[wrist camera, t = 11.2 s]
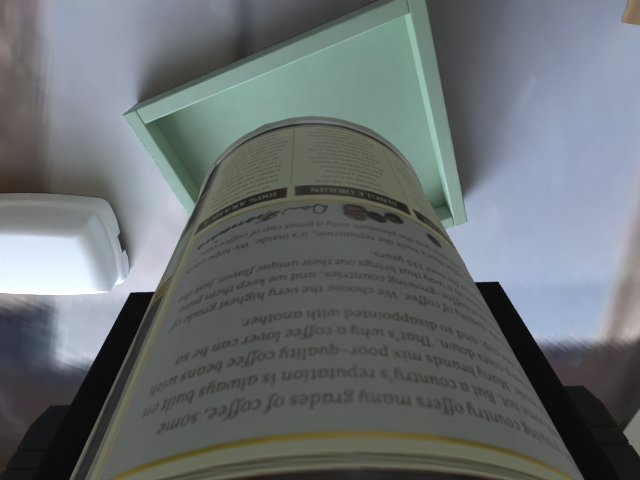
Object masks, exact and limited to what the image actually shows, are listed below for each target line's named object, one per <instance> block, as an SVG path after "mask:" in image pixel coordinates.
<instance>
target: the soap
mask: <svg viewBox="0 0 640 480" xmlns="http://www.w3.org/2000/svg"><path fill="white" fill-rule="evenodd" d="M119 233H120V230H119V227H118V221H117V219H116V217H115V214H114V212H113V210H112V208H111V206H110V204H109V203H108V202H107V201H106V200H104V199H102V198H95V197H86V196H76V195H64V194H46V193H3V194H0V292H3V293H19V294H54V295H59V294H91V293H105V292H108V291H110V290H111V289H112V288H113V287H114V285H115V284H120V283H122V282H124V281H125V279H126V277H127V275H128V274H129V262H128V255H126V250H123V252H122V250H121V246H120V243H119V240H118V235H119Z"/></svg>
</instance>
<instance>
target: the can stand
mask: <svg viewBox="0 0 640 480" xmlns="http://www.w3.org/2000/svg"><path fill="white" fill-rule="evenodd" d="M622 23H628V24H633V25H639V26H640V0H629V3H628V5H627V8H626V11H625V13H624V16H623V19H622Z"/></svg>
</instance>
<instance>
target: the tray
mask: <svg viewBox="0 0 640 480" xmlns="http://www.w3.org/2000/svg"><path fill="white" fill-rule="evenodd" d="M305 116H321V117H332V118H338V119H342V120H346V121H349V122H352V123H356V124H359V125H362V126H365V127H367V128H369V129H371V130H373V131H374V132H376V133H378V134H379V135H381V136H382V137H384V138H385V139H386V140H388V141H389V142H390V143H392V144H393V145H394V146H395V147H396V148H397V149H398V150H399V151H400V152H401V153H402V154H403V155H404V156H405V158H406V159H407V160H408V162H409V163H410V164H411V166H412V167H413V169H414V171H415V173H416V174H417V176H418V178H419V181H420V183H421V186H422V189H423V191H424V193H425V195H426V197H427V198H428V200H429V202H430V204H431V206H432V207H433V209H434V211H435V213H436V214H437V216H438V218H439V220H440V222H441V223H442V225H443V227H444V229H447V228H450V227H453V226H454V225H455V226H457V225H460V224H463V223H466V222H467V217H466V211H465V206H464V201H463V195H462V190H461V185H460V179H459V174H458V169H457V163H456V158H455V153H454V147H453V142H452V137H451V131H450V126H449V121H448V115H447V110H446V105H445V99H444V94H443V89H442V83H441V78H440V73H439V67H438V62H437V57H436V51H435V46H434V41H433V35H432V30H431V25H430V19H429V14H428V9H427V3H426V0H378V1H376V2H374V3H371V4H369V5H367V6H364V7H362V8H360V9H357V10H355V11H353V12H350V13H348V14H346V15H343V16H341V17H339V18H336V19H334V20H332V21H329V22H327V23H325V24H322V25H320V26H318V27H315V28H313V29H311V30H308V31H306V32H304V33H301V34H299V35H297V36H294V37H292V38H289V39H287V40H285V41H282V42H280V43H278V44H275V45H273V46H271V47H268V48H266V49H264V50H261V51H259V52H257V53H254V54H252V55H250V56H247V57H245V58H243V59H240V60H238V61H236V62H233V63H231V64H229V65H226V66H224V67H222V68H219V69H217V70H215V71H212V72H210V73H208V74H205V75H203V76H201V77H198V78H196V79H194V80H191V81H189V82H187V83H184V84H182V85H180V86H177V87H175V88H173V89H170V90H168V91H166V92H163V93H161V94H159V95H156V96H154V97H151V98H149V99H147V100H144V101H142V102H140V103H137V104H136V105H134V106H133V107H132V108H131V109H130V110H128V111H127V112H126V113H125V114H123V117H124V118H125V120H126V121H127V123H128V124H129V126H130V128H131V129H132V131H133V132H134V134H135V135H136V137H137V138H138V140H139V141H140V143H141V144H142V146H143V147H144V149H145V150H146V152H147V153H148V155H149V156H150V158H151V159H152V161H153V162H154V164H155V165H156V167H157V168H158V170H159V171H160V173H161V174H162V176H163V177H164V179H165V180H166V182H167V183H168V185H169V186H170V188H171V189H172V191H173V192H174V194H175V195H176V197H177V198H178V200H179V201H180V203H181V204H182V206H183V207H184V209H185V210H186V212H187V213H188V215H189V216H190V215H191V213H192V211H193V209H194V206H195V204H196V202H197V200H198V197H199V194H200V190H201V185H202V184H203V181H204V179H205V177H206V175H207V173H208V171H209V170H210V168H211V167H212V165H213V164H214V162H215V161H216V159H217V158H218V157H219V156H220V155H221V154H222V153H223V152H224V151H225V150H226V149H227V148H228V147H229V146H230V145H231V144H233V143H234V142H235V141H237V140H238V139H239V138H241V137H242V136H244V135H245V134H247V133H249V132H251V131H254V130H256V129H257V128H259V127H260V126H262V125H264V124H268V123H273V122H277V121H280V120H284V119H288V118H295V117H305Z"/></svg>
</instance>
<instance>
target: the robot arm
mask: <svg viewBox="0 0 640 480" xmlns="http://www.w3.org/2000/svg"><path fill="white" fill-rule="evenodd" d="M475 284H476V286H477V288H478V290H479V291H480V293H481V295H482V297H483V299H484V300H485V302H486V304H487V306H488V308H489V309H490V311H491V313H492V315H493V317H494V318H495V320H496V322H497V324H498V326H499V327H500V329H501V331H502V333H503V335H504V337H505V338H506V340H507V342H508V344H509V346H510V347H511V349H512V351H513V353H514V355H515V356H516V358H517V360H518V362H519V364H520V365H521V367H522V369H523V371H524V372H525V374H526V376H527V378H528V379H529V381H530V383H531V385H532V387H533V388H534V390H535V392H536V394H537V396H538V397H539V399H540V401H541V403H542V405H543V406H544V408H545V410H546V412H547V414H548V415H549V417H550V419H551V421H552V423H553V424H554V426H555V428H556V430H557V432H558V433H559V435H560V437H561V439H562V441H563V442H564V444H565V446H566V448H567V450H568V451H569V453H570V455H571V457H572V459H573V460H574V462H575V464H576V466H577V468H578V469H579V471H580V473H581V475H582V477H583V478H584V480H640V457H639V455H638V454H637V452H636V451H635V450H634V448H633V446H632V445H629V443H628V439H627V438H626V436H625V435H624V433H623V432H622V430H621V429H620V428H618V427H617V423H616V422H615V420H614V419H613V417H612V416H611V414H610V413H609V412H608V410H607V409H606V407H605V406H604V404H603V403H602V402H601V401H600V400H599V399H597V398H596V397H595V396H594V395H593V394H592V393H591V392H589V391H588V390H587V389H586V388H585V387H584V386H563V385H562V383H561V382H560V380H559V379H558V377H557V375H556V374H555V372H554V371H553V369H552V367H551V366H550V364H549V362H548V361H547V359H546V358H545V356H544V354H543V353H542V351H541V350H540V348H539V346H538V345H537V343H536V342H535V340H534V338H533V337H532V335H531V334H530V332H529V330H528V329H527V327H526V325H525V324H524V322H523V321H522V319H521V317H520V316H519V314H518V313H517V311H516V309H515V308H514V306H513V305H512V303H511V301H510V300H509V298H508V296H507V295H506V293H505V292H504V290H503V288H502V287H501V285H500V284H499V282H475ZM154 293H155V292H135V293H130V295H129V297H128V299H127V300H126V302H125V304H124V306H123V308H122V310H121V312H120V314H119V315H118V317H117V319H116V321H115V323H114V325H113V327H112V329H111V331H110V332H109V334H108V336H107V338H106V340H105V342H104V344H103V346H102V347H101V349H100V351H99V353H98V355H97V357H96V359H95V361H94V362H93V364H92V366H91V368H90V370H89V372H88V374H87V376H86V377H85V379H84V381H83V383H82V385H81V387H80V389H79V391H78V393H77V394H76V396H75V398H74V400H73V402H72V404H71V405H60V406H50V407H49V408H48V409H47V410H46V411H45V412H44V413H43V414H42V415H41V416H40V417H39V418H38V419H37V420H36V421H35V422H34V423H33V424H32V425H31V426H30V427H29V429H28V431H27V432H26V434H25V436H24V438H23V439H22V441H21V443H20V444H19V446H18V450H17V452H15V453H14V454H13V456H12V458H11V459H10V461H9V463H8V464H7V466H6V467H7V469H6V470H5V471H3V473H2V474H1V476H0V480H70V478H71V475H72V473H73V471H74V469H75V467H76V464H77V462H78V460H79V458H80V456H81V453H82V451H83V449H84V447H85V445H86V443H87V440H88V438H89V436H90V434H91V432H92V430H93V427H94V425H95V423H96V421H97V419H98V417H99V414H100V412H101V410H102V408H103V406H104V404H105V401H106V399H107V397H108V395H109V393H110V390H111V388H112V386H113V384H114V382H115V380H116V377H117V375H118V373H119V371H120V369H121V366H122V364H123V362H124V360H125V358H126V355H127V353H128V351H129V349H130V347H131V344H132V342H133V340H134V338H135V336H136V333H137V331H138V329H139V327H140V324H141V322H142V320H143V318H144V315H145V313H146V311H147V308H148V306H149V304H150V302H151V299H152V297H153V295H154Z"/></svg>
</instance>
